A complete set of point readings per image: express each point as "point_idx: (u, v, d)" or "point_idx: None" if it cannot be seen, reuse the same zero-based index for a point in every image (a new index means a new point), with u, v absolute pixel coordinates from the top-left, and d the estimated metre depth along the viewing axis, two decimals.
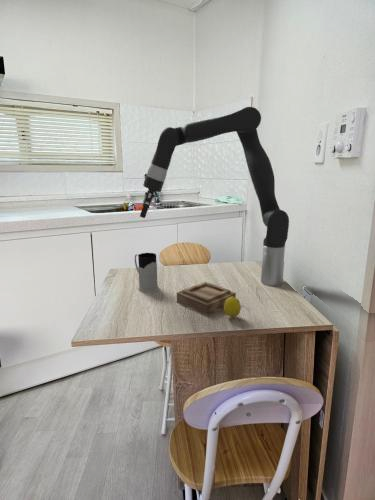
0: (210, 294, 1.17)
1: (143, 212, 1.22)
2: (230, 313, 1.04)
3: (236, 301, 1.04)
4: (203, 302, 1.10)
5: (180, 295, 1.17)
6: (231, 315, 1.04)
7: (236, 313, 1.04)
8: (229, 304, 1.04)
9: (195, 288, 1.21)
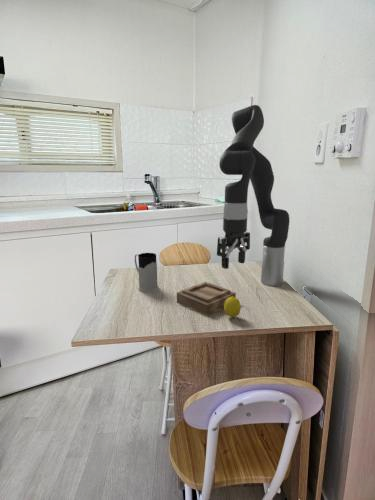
0: (210, 294, 1.17)
1: None
2: (230, 313, 1.04)
3: (236, 301, 1.04)
4: (203, 302, 1.10)
5: (180, 295, 1.17)
6: (231, 315, 1.04)
7: (236, 313, 1.04)
8: (229, 304, 1.04)
9: (195, 288, 1.21)
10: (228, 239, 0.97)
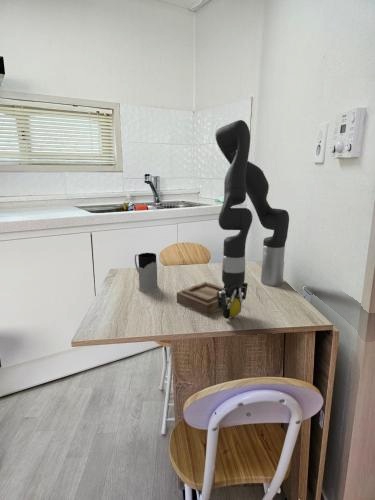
0: (210, 294, 1.17)
1: None
2: (230, 313, 1.04)
3: (236, 301, 1.04)
4: (203, 302, 1.10)
5: (180, 295, 1.17)
6: (231, 315, 1.04)
7: (236, 313, 1.04)
8: None
9: (195, 288, 1.21)
10: (227, 292, 1.01)
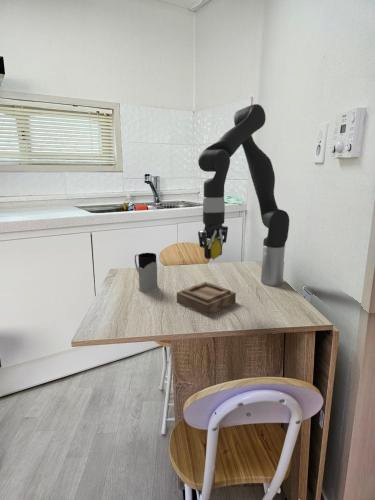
0: (210, 294, 1.17)
1: None
2: (211, 254, 1.09)
3: (217, 242, 1.09)
4: (203, 302, 1.10)
5: (180, 295, 1.17)
6: (212, 256, 1.09)
7: (217, 253, 1.09)
8: None
9: (195, 288, 1.21)
10: (207, 232, 1.06)
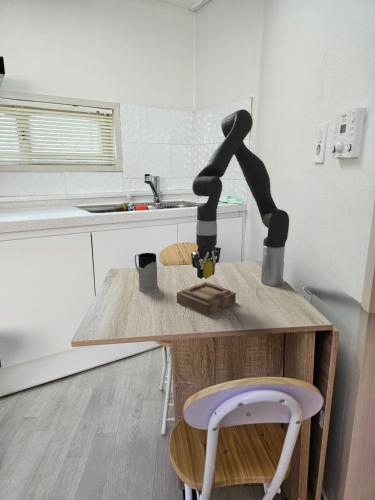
0: (210, 294, 1.17)
1: None
2: (203, 273, 1.14)
3: (209, 263, 1.14)
4: (203, 302, 1.10)
5: (180, 295, 1.17)
6: (204, 275, 1.15)
7: (209, 274, 1.14)
8: None
9: (195, 288, 1.21)
10: (200, 254, 1.11)
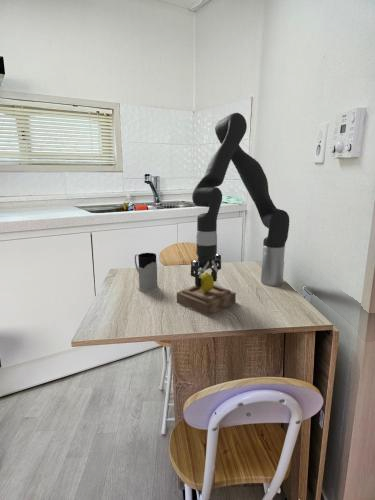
0: (210, 294, 1.17)
1: None
2: (204, 288, 1.16)
3: (209, 277, 1.15)
4: (203, 302, 1.10)
5: (180, 295, 1.17)
6: (205, 289, 1.16)
7: (209, 288, 1.16)
8: (203, 280, 1.15)
9: (195, 288, 1.21)
10: (200, 262, 1.12)
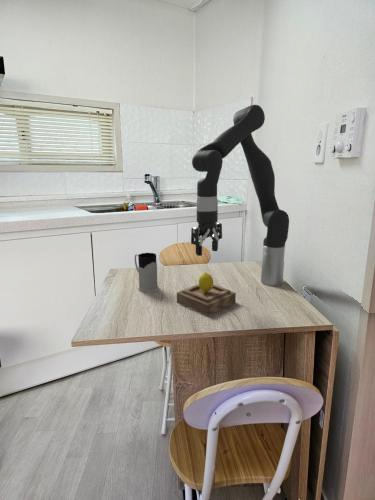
0: (210, 294, 1.17)
1: None
2: (203, 288, 1.15)
3: (208, 277, 1.15)
4: (203, 302, 1.10)
5: (180, 295, 1.17)
6: (204, 290, 1.16)
7: (209, 288, 1.16)
8: (202, 280, 1.15)
9: (195, 288, 1.21)
10: (201, 229, 1.09)
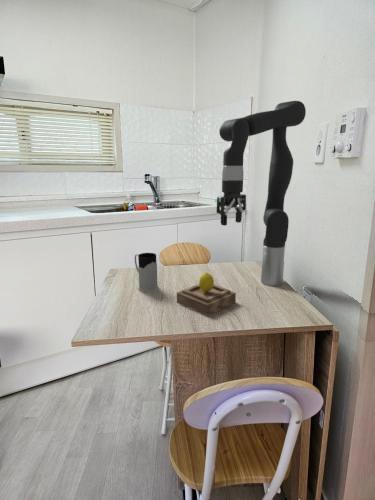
0: (210, 294, 1.17)
1: None
2: (204, 288, 1.16)
3: (209, 277, 1.15)
4: (203, 302, 1.10)
5: (180, 295, 1.17)
6: (205, 289, 1.16)
7: (209, 288, 1.16)
8: (203, 280, 1.15)
9: (195, 288, 1.21)
10: (226, 198, 1.09)
